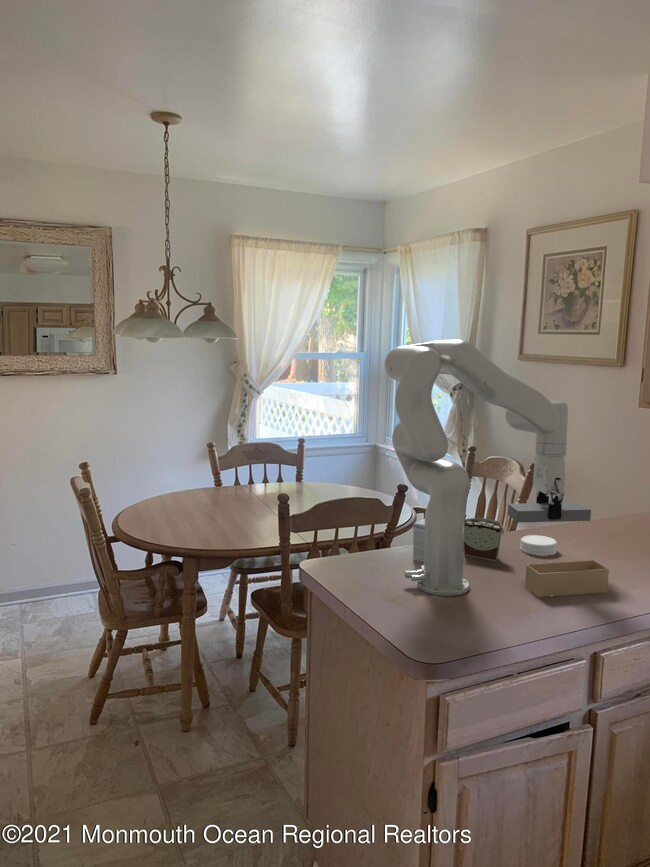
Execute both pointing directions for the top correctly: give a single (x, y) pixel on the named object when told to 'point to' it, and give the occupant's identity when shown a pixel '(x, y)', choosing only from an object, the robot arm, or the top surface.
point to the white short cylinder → (538, 545)
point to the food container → (482, 538)
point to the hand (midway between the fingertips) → (548, 514)
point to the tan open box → (566, 578)
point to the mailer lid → (540, 512)
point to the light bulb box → (418, 540)
